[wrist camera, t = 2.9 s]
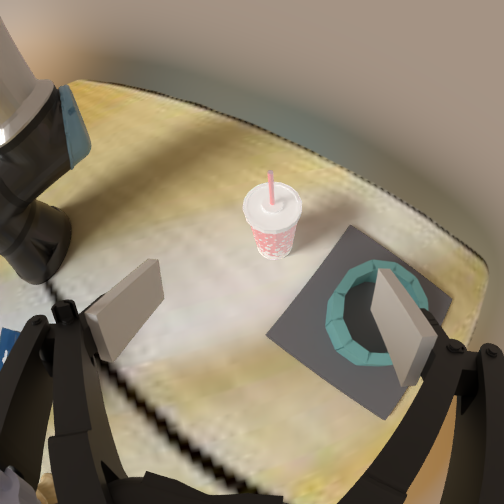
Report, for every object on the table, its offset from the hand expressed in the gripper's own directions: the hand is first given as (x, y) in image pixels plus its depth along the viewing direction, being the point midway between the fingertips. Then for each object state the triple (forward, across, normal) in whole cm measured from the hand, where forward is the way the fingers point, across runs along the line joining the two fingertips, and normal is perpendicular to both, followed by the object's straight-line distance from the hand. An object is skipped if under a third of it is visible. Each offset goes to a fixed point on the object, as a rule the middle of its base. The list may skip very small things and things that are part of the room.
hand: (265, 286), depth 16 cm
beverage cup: (+20, -1, -4) cm, 21 cm away
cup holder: (+13, +12, -11) cm, 21 cm away
